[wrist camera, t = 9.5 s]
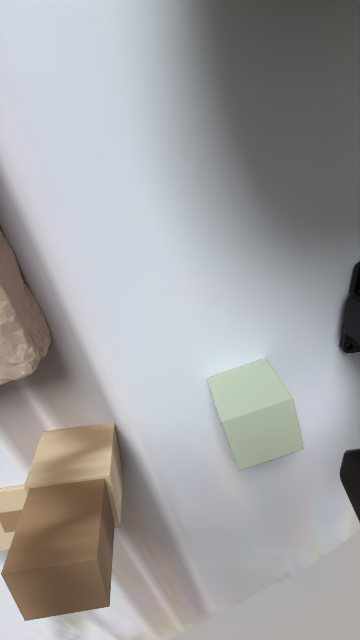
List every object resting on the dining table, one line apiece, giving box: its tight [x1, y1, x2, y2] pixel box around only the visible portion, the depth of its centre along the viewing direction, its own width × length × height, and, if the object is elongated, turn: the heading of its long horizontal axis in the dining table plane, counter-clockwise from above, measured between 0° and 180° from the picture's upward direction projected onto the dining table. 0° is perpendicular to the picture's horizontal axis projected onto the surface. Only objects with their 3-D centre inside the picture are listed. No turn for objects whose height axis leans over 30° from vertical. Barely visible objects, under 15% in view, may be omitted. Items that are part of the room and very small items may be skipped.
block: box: [206, 358, 304, 471], centre depth 22 cm, size 4×4×4 cm
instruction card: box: [0, 485, 27, 551], centre depth 26 cm, size 9×7×1 cm
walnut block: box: [1, 478, 114, 621], centre depth 18 cm, size 4×4×4 cm
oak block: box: [24, 423, 123, 528], centre depth 22 cm, size 5×5×4 cm
